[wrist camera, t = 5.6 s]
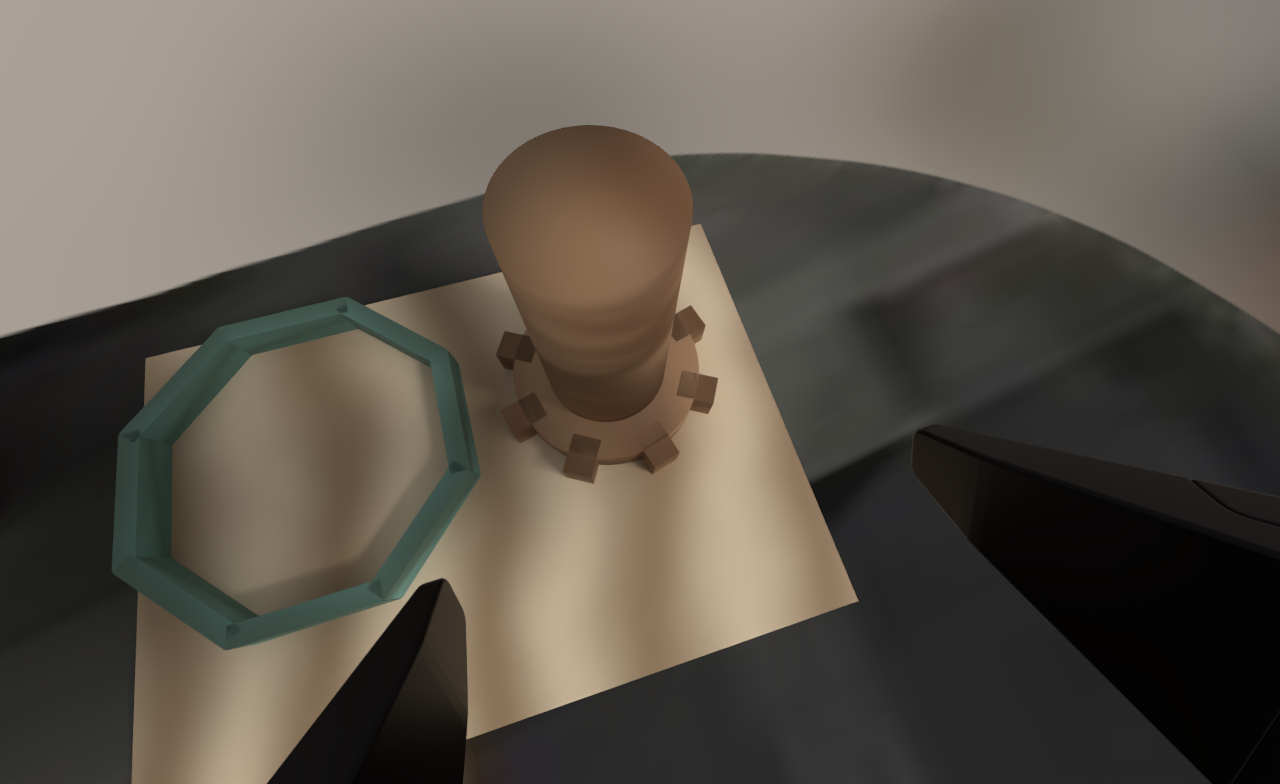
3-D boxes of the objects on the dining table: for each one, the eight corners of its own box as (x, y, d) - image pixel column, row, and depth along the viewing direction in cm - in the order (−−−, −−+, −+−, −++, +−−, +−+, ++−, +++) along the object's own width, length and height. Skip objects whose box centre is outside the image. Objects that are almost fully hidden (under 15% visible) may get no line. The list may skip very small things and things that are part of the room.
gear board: (168, 835, 18) (81, 886, 15) (174, 370, 24) (113, 344, 21) (842, 598, 21) (876, 603, 18) (696, 241, 27) (704, 203, 24)
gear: (567, 527, 20) (496, 483, 9) (467, 347, 23) (321, 149, 12) (753, 411, 22) (873, 262, 11) (641, 257, 25) (650, 16, 14)
